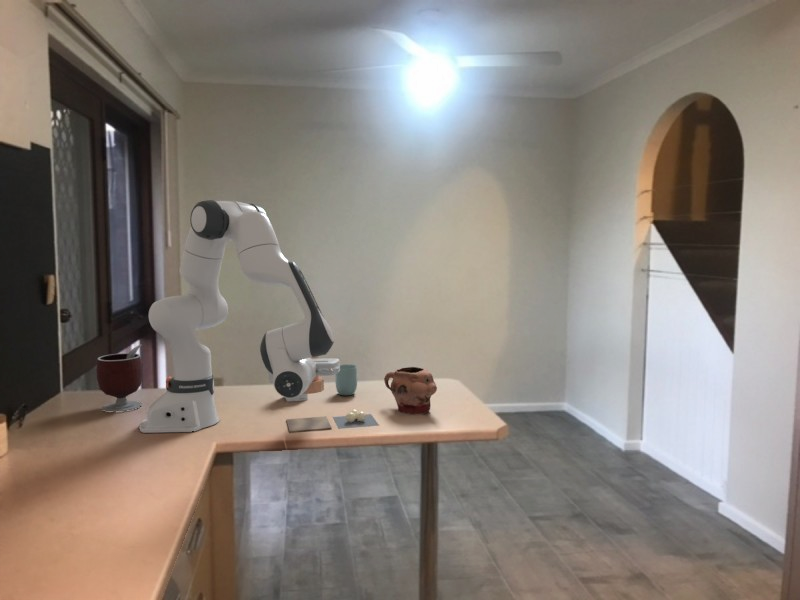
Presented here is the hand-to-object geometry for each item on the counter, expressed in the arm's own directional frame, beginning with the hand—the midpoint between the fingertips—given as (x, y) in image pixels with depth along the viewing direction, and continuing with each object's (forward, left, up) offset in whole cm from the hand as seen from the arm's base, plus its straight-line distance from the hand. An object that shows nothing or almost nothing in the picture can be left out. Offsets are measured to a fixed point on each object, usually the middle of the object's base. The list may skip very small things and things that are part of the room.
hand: (308, 361), depth 185 cm
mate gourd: (-57, +37, -20) cm, 71 cm away
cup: (+17, +34, -20) cm, 43 cm away
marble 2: (+12, -2, -19) cm, 22 cm away
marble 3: (+15, -2, -19) cm, 24 cm away
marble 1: (+14, +1, -19) cm, 23 cm away
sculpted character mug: (+33, +7, -20) cm, 39 cm away
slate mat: (+14, -1, -19) cm, 24 cm away
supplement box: (-1, +33, -20) cm, 39 cm away
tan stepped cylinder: (0, -1, -8) cm, 8 cm away
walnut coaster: (0, -1, -19) cm, 20 cm away
